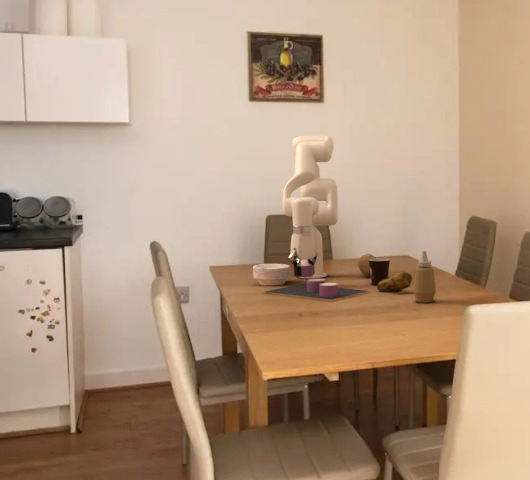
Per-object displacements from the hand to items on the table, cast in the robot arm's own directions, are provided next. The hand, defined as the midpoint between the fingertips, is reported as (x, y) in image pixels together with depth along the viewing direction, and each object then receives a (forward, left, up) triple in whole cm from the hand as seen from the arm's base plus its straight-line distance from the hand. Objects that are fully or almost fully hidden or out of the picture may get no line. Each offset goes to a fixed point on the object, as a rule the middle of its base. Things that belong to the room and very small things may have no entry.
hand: (304, 274), depth 309 cm
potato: (+37, +10, -6) cm, 39 cm away
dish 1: (0, 0, 0) cm, 0 cm away
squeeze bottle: (+57, 0, -6) cm, 58 cm away
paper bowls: (-18, 0, -6) cm, 19 cm away
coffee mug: (+19, +25, -6) cm, 32 cm away
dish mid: (+11, -6, -5) cm, 14 cm away
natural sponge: (+4, +37, -6) cm, 37 cm away
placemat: (+11, -6, -5) cm, 14 cm away
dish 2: (+22, -12, -5) cm, 26 cm away
